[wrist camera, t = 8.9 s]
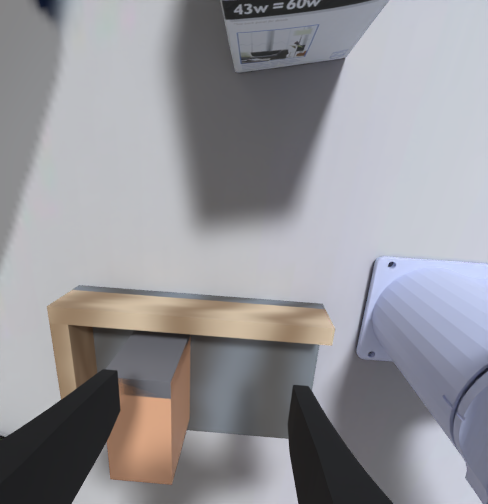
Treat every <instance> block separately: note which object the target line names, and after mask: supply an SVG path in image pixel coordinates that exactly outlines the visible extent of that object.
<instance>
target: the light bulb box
mask: <svg viewBox="0 0 488 504" xmlns="http://www.w3.org/2000/svg"><path fill="white" fill-rule="evenodd" d="M388 1H389V0H220V2H221V7H222V12H223V17H224V21H225V26H226V31H227V36H228V41H229V46H230V50H231V55H232V59H233V64H234V69H235V71H236V72H238V73H239V72H247V71H255V70H262V69H270V68H277V67H284V66H292V65H299V64H306V63H313V62H321V61H328V60H335V59H341V58H345V57H347V55H348V54H349V53H350V51H351V50H352V49H353V47H354V46H355V45H356V43H357V42H358V41H359V39H360V38H361V37H362V35H363V34H364V33H365V31H366V30H367V29H368V28H369V26H370V25H371V23H372V22H373V21H374V19H375V18H376V17H377V16H378V14H379V13H380V12H381V10H382V9H383V8H384V6H385V5H386V4H387V2H388Z"/></svg>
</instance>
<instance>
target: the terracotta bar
mask: <svg viewBox="0 0 488 504" xmlns="http://www.w3.org/2000/svg"><path fill="white" fill-rule="evenodd" d="M190 340H191V334H179V333H166V332H153V331H141V330H135V331H134V332H133V333H132V335H131V336H130V337H129V339H128V340H127V341H126V343H125V344H124V345H123V347H122V348H121V349H120V351H119V352H118V353H117V354H116V356H115V357H114V358H113V360H112V361H111V362H110V364H109V365H108V366H107V368H106V369H107V370H117V371H118V384H119V396H120V409H121V410H120V413H119V415H118V418H117V420H116V422H115V425H114V427H113V429H112V431H111V434H110V436H109V438H108V440H107V448H108V458H109V468H110V479H114V480H125V481H136V482H147V483H158V484H170V485H172V483H173V479H174V475H175V471H176V467H177V464H178V460H179V456H180V452H181V449H182V445H183V441H184V437H185V434H186V430H187V426H188V422H189V418H190Z"/></svg>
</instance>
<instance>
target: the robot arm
mask: <svg viewBox="0 0 488 504" xmlns="http://www.w3.org/2000/svg"><path fill="white" fill-rule="evenodd" d="M390 262H393V265H392V266H391V267H388V264H389V263H390ZM371 351H373V352H372V353H371V354H368V353H369V352H371ZM356 353H357V355H358V356H359V358H361V359H367V360H380V361H392V362H394V363H395V365H396V366H397V367H398V369H399V370H400V372H401V373H402V374H403V376H404V377H405V378H406V380H407V381H408V383H409V384H410V385H411V387H412V388H413V389H414V391H415V392H416V394H417V395H418V396H419V398H420V399H421V401H422V402H423V403H424V405H425V406H426V407H427V409H428V410H429V412H430V413H431V414H432V416H433V417H434V418H435V420H436V421H437V423H438V424H439V425H440V427H441V428H442V429H443V431H444V432H445V434H446V435H447V436H448V438H449V439H450V441H451V442H452V443H453V445H454V446H455V447H456V449H457V450H458V452H459V453H460V454H461V456H462V457H463V459H464V461H465V462H466V466H467V472H466V476H465V478H466V480H467V481H468V483H469V484H470V485H471V487H472V488H473V490H474V491H475V493H476V494H477V496H478V497H479V499H480V500H481V502H482V503H483V504H488V264H485V263H471V262H457V261H443V260H429V259H416V258H402V257H388V256H381V257H379V258H377V259H376V261H375V264H374V269H373V274H372V279H371V283H370V288H369V293H368V298H367V302H366V307H365V312H364V317H363V322H362V326H361V331H360V336H359V341H358V345H357V350H356ZM120 410H121V409H120V396H119V384H118V371H117V370H107V369H102V370H101V371H100V372H98V373H97V374H95V375H94V376H93V377H91V378H90V379H89V380H87V381H86V382H85V383H83V384H82V385H81V386H79V387H78V388H77V389H75V390H74V391H73V392H71V393H70V394H68V395H67V396H66V397H64V398H63V399H62V400H60V401H59V402H57V403H56V404H55V405H53V406H52V407H50V408H49V409H48V410H46V411H45V412H43V413H42V414H40V415H39V416H37V417H36V418H34V419H33V420H31V421H30V422H28V423H27V424H25V425H24V426H22V427H21V428H19V429H18V430H16V431H15V432H13V433H12V434H10V435H8V436H7V437H5V438H4V439H2V440H0V504H72V502H73V500H74V498H75V496H76V495H77V493H78V491H79V489H80V488H81V486H82V484H83V482H84V481H85V479H86V477H87V475H88V474H89V472H90V470H91V468H92V467H93V465H94V463H95V461H96V460H97V458H98V456H99V454H100V452H101V451H102V449H103V447H104V445H105V443H106V442H107V440H108V438H109V436H110V434H111V431H112V429H113V427H114V425H115V422H116V420H117V418H118V415H119V413H120ZM288 438H289V451H290V458H291V464H292V469H293V475H294V481H295V487H296V492H297V498H298V504H393V503H392V502H391V500H390V499H389V498H388V497H387V496H386V495H385V494H384V493H383V491H382V490H381V489H380V488H379V487H378V486H377V484H376V483H375V482H374V481H373V480H372V478H371V477H370V476H369V475H368V474H367V472H366V471H365V470H364V468H363V467H362V466H361V465H360V463H359V462H358V461H357V459H356V458H355V457H354V455H353V454H352V453H351V451H350V450H349V449H348V447H347V446H346V444H345V443H344V442H343V440H342V439H341V437H340V436H339V434H338V433H337V431H336V430H335V428H334V427H333V425H332V424H331V422H330V421H329V419H328V418H327V416H326V414H325V413H324V411H323V409H322V408H321V406H320V405H319V403H318V401H317V399H316V398H315V396H314V394H313V392H312V391H311V389H310V387H309V386H303V385H293V388H292V396H291V403H290V410H289V417H288Z"/></svg>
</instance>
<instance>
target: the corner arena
mask: <svg viewBox="0 0 488 504" xmlns="http://www.w3.org/2000/svg"><path fill="white" fill-rule="evenodd" d="M47 310H48V317H49V323H50V330H51V336H52V343H53V349H54V356H55V363H56V369H57V376H58V382H59V389H60V395H61V400H62V399H63V398H64V397H66V396H67V395H68V394H70V393H71V392H73V391H74V390H75V389H77V388H78V387H79V386H81V385H82V384H83V383H85V382H86V381H87V380H89V379H90V378H91V377H93V376H94V375H95V374H97V373H98V372H100V371H101V370H102V369H106V368H107V366H108V365H109V364H110V362H111V361H112V360H113V358H114V357H115V356H116V354H117V353H118V352H119V351H120V349H121V348H122V347H123V345H124V344H125V343H126V341H127V340H128V339H129V337H130V336H131V335H132V333H133V332H134V331H135V330H141V331H153V332H166V333H179V334H191V340H190V418H189V422H188V426H187V430H193V431H204V432H216V433H228V434H239V435H251V436H263V437H275V438H286V439H289V438H288V417H289V410H290V403H291V396H292V388H293V385H303V386H309V387H310V389H311V391H312V386H313V380H314V374H315V368H316V362H317V356H318V350H319V345H331V346H332V343H333V337H334V332H335V328H334V326H333V324H332V322H331V320H330V318H329V316H328V314H327V312H326V310H325V308H324V306H323V304H317V303H303V302H290V301H277V300H264V299H251V298H237V297H224V296H211V295H198V294H185V293H172V292H158V291H145V290H132V289H119V288H106V287H93V286H78V287H76V288H74V289H73V290H71V291H70V292H68V293H67V294H65V295H64V296H62V297H61V298H59V299H58V300H56V301H54V302H53V303H51V304H50V305H48V306H47Z"/></svg>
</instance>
